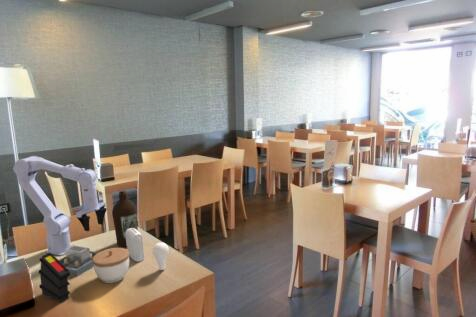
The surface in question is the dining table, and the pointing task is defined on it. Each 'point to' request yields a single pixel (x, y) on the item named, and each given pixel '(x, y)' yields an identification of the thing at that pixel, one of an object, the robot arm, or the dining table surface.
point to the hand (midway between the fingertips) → (94, 227)
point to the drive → (77, 255)
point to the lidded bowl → (111, 264)
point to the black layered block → (54, 278)
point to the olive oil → (124, 217)
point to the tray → (77, 269)
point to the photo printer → (134, 244)
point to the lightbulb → (160, 254)
